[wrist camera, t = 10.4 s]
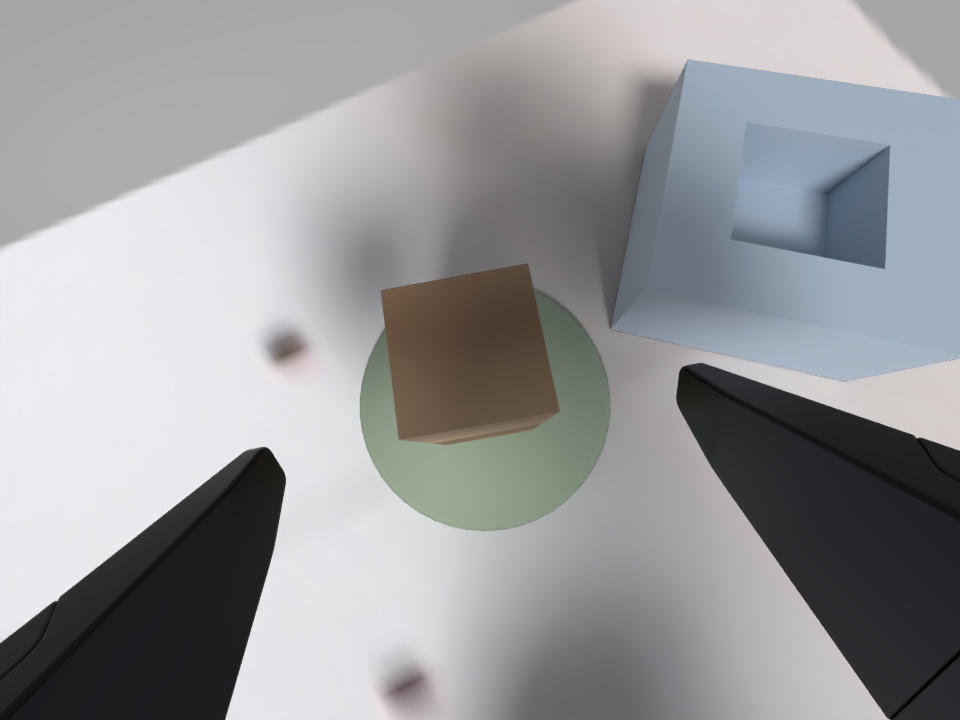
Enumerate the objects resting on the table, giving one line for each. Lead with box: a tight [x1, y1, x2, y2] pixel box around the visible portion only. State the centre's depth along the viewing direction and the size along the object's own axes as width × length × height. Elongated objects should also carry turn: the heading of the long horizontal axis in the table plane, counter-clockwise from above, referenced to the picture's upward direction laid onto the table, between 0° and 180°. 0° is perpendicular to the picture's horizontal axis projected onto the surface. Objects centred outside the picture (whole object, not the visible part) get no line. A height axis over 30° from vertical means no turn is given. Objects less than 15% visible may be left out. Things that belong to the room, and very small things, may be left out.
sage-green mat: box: [360, 291, 610, 531], centre depth 19 cm, size 12×12×1 cm
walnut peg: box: [381, 264, 560, 445], centre depth 14 cm, size 4×4×9 cm
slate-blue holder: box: [611, 60, 960, 382], centre depth 18 cm, size 11×11×5 cm
